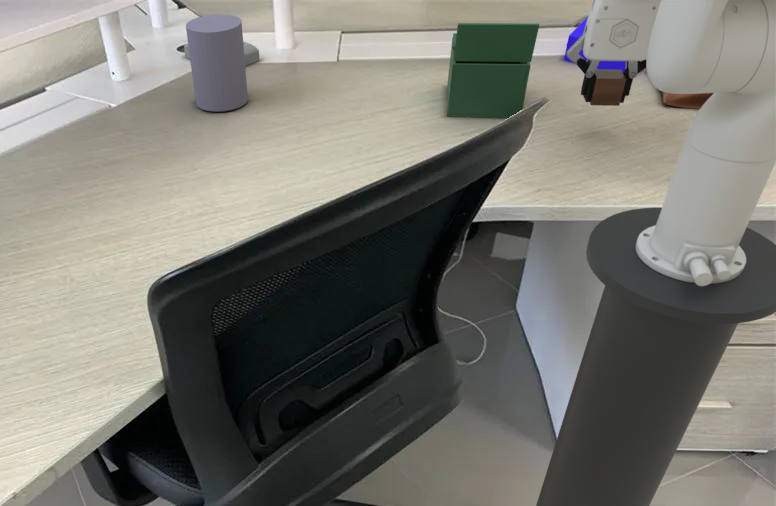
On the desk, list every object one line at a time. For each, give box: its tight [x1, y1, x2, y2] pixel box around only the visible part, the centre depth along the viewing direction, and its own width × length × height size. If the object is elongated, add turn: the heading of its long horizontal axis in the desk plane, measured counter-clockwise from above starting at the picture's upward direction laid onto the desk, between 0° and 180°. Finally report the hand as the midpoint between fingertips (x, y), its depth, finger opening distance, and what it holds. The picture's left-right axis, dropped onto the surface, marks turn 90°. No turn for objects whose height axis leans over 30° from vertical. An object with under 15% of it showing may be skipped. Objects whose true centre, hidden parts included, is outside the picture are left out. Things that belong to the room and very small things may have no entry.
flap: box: [453, 22, 540, 63], centre depth 118 cm, size 7×13×1 cm
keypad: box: [183, 41, 261, 67], centre depth 156 cm, size 10×4×15 cm
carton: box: [446, 32, 531, 119], centre depth 129 cm, size 14×13×10 cm
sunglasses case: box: [659, 90, 713, 110], centre depth 131 cm, size 18×7×7 cm
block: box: [589, 68, 626, 107], centre depth 115 cm, size 4×4×4 cm
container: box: [185, 14, 249, 113], centre depth 134 cm, size 10×10×15 cm
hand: (603, 98), depth 116 cm, fingers closed on block, 4 cm apart
